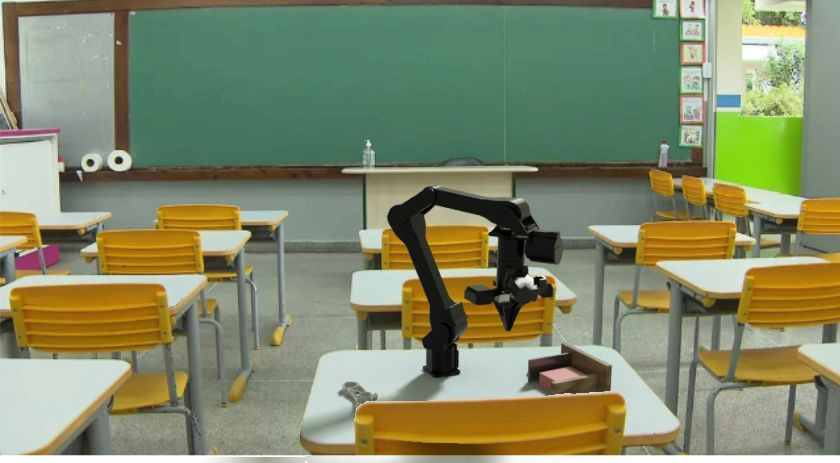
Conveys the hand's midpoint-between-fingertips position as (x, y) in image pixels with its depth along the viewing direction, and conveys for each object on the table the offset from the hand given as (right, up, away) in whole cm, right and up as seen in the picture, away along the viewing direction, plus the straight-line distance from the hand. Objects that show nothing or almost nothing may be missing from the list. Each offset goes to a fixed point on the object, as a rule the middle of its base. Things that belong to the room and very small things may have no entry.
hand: (507, 330), depth 160 cm
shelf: (+12, -12, +1) cm, 17 cm away
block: (+12, -12, +1) cm, 17 cm away
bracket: (-31, -14, -7) cm, 35 cm away
